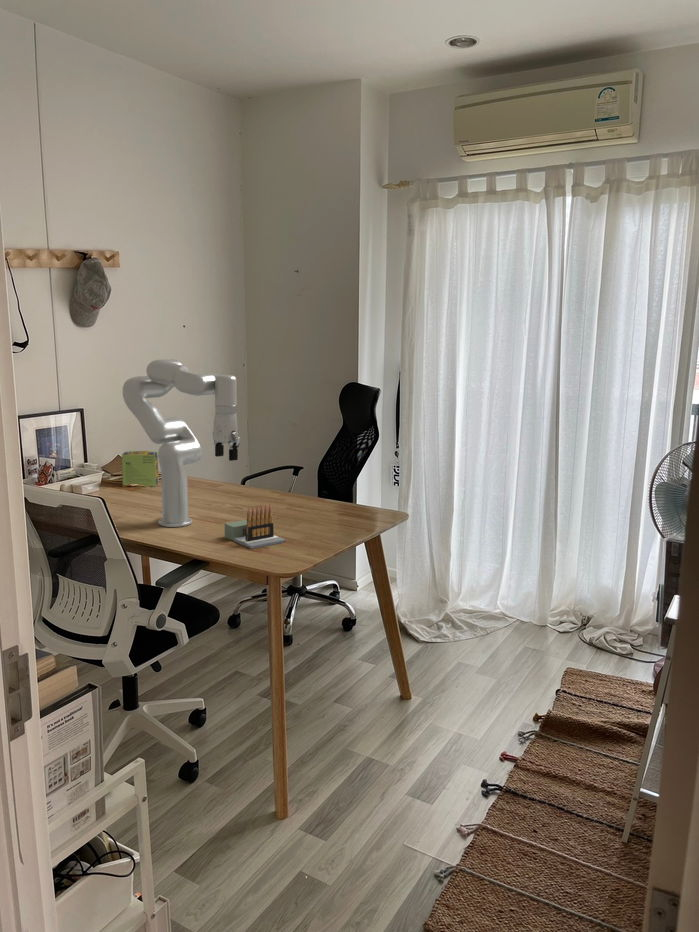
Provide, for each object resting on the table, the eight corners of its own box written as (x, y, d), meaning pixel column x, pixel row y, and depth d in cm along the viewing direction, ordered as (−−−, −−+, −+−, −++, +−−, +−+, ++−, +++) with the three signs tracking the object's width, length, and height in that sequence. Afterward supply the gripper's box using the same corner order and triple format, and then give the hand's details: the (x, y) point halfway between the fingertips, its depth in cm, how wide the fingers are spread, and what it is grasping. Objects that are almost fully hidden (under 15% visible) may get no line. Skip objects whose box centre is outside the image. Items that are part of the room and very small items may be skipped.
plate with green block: (224, 536, 265) (224, 523, 264) (257, 530, 274) (257, 517, 273) (251, 549, 252) (251, 534, 251) (285, 542, 260) (285, 528, 259)
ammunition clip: (270, 535, 264) (271, 502, 262) (273, 536, 263) (274, 503, 260) (245, 540, 257) (245, 506, 255) (248, 541, 256) (248, 507, 254)
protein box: (156, 487, 344) (155, 454, 341) (122, 487, 342) (121, 454, 339) (159, 482, 354) (158, 450, 351) (126, 482, 352) (125, 450, 349)
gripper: (204, 408, 264) (205, 455, 267) (229, 413, 251) (229, 462, 254) (222, 407, 269) (223, 453, 272) (248, 412, 255) (248, 460, 259)
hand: (226, 458), depth 263 cm, fingers open, 9 cm apart
